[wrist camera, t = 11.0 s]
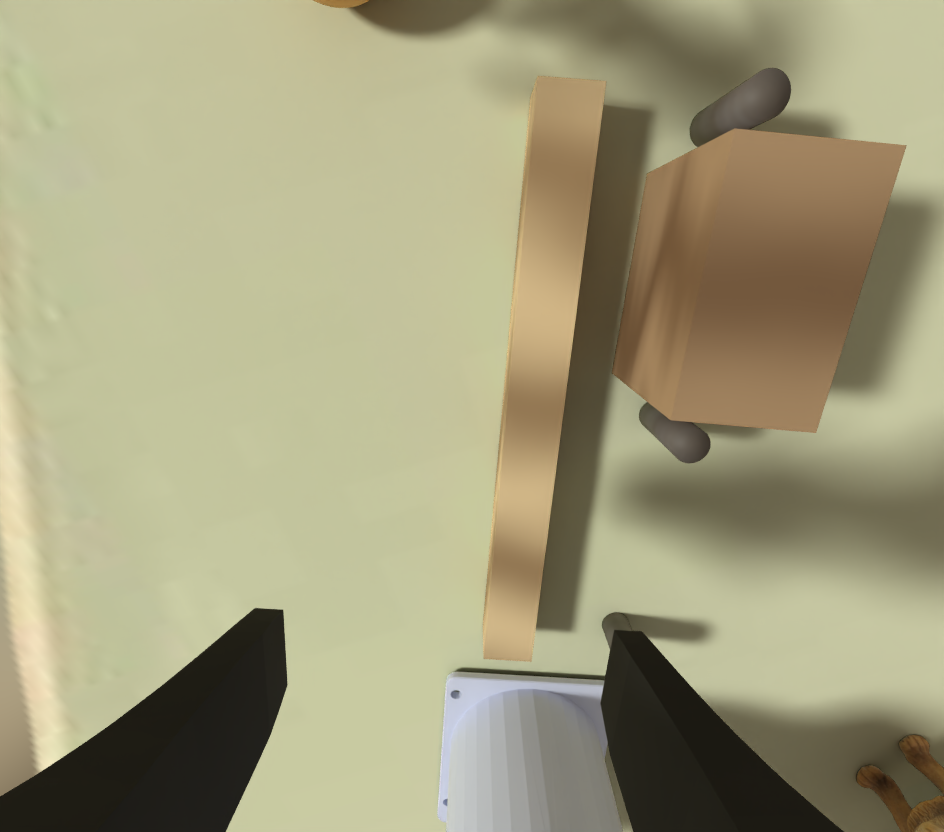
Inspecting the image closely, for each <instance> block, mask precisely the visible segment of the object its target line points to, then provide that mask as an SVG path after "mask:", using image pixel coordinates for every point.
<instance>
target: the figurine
mask: <svg viewBox="0 0 944 832" xmlns="http://www.w3.org/2000/svg"><path fill="white" fill-rule="evenodd" d="M314 1H316V2H318V3H320V4H323V5H326V6H330V7H336V8H349V7H355V6H358V5H361V4H364V3H366V2H368V1H369V0H314Z"/></svg>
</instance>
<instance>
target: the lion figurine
mask: <svg viewBox="0 0 944 832" xmlns="http://www.w3.org/2000/svg"><path fill="white" fill-rule="evenodd" d="M899 746H900V749H901V751H902V752H903V753H904V755H905V757H906V759H907V761H908V762H909V763H911V764H912V765H913V766H914V767H915V768H917V769H918V770H919V771H920V772H922V773H923V774H924V775H925V776H926V777H927V778H928V779H929V780H930V781H931V782H932V783H933V784H934V785H935V786H936V787H937V788H938V789H939V790H940V791H941V792H942V794H943V795H944V768H943V767H942V766H941V765H939V764H938V763H937V762H936V761H935V760H934V758H933V757H932V756H931V755H930V753H929V747H930V746H929V743H928V742H927V741H926V740H925V739H924V738H923V737H922V736H918V735H908V736H906V737H905V738H903V739H902V740H900V742H899ZM856 781H857V782H858V784H859V785H861V786H862V787H865V788H870V789H872V790H874V791H875V792H876V793H877V794H878V796H879V797H880V798H881V799H882V800H883V802H884V803H885V804H886V806H887V807H888V809H889V810H890V812H891V813H892V815H893V817H894V819H895V821H896V823H897V825H898V827H899V829H900V830H901V832H944V796H937V797H935V798H934V799H932V800H927V801H924V802H920V803H919V804H918V805H917V806H916V807H914V808H913V809H911V807H910V806H909V805H908V803H907V802H906V800H905V798H904V796H903V794H902V793H901V791H900V789H899V787H898V786H897V784H896V783H895V781H894V780H893V779H892V778H891V777H890V776H888V775H886V774H884V773H883V772H882V771H881V770H880V769H878V768H877V767H875V766H871V765H868V766H865V767H861V769H860V770H859V771H858V774H857V777H856Z"/></svg>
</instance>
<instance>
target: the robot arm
mask: <svg viewBox="0 0 944 832" xmlns="http://www.w3.org/2000/svg"><path fill="white" fill-rule="evenodd" d="M286 688H287V669H286V651H285V634H284V616H283V610H277V609H260V608H255V609H253V610H252V611H251V612H250V613H249V614H247V615H246V616H245V617H244V618H243V619H241V620H240V621H239V622H238V623H237V624H235V625H234V626H233V627H232V628H231V629H229V630H228V631H227V632H226V633H225V634H224V635H222V636H221V637H220V638H219V639H218V640H217V641H215V642H214V643H213V644H212V645H211V646H209V647H208V648H207V649H206V650H205V651H204V652H202V653H201V654H200V655H199V656H198V657H196V658H195V659H194V660H193V661H192V662H190V663H189V664H188V665H187V666H185V667H184V668H183V669H182V670H181V671H179V672H178V673H177V674H176V675H174V676H173V677H172V678H171V679H170V680H168V681H167V682H166V683H165V684H163V685H162V686H161V687H160V688H158V689H157V690H156V691H154V692H153V693H152V694H150V695H149V696H148V697H146V698H145V699H144V700H143V701H141V702H140V703H139V704H137V705H136V706H135V707H133V708H132V709H131V710H129V711H128V712H127V713H125V714H124V715H123V716H122V717H120V718H119V719H118V720H116V721H115V722H114V723H112V724H111V725H109V726H108V727H107V728H105V729H104V730H102V731H101V732H100V733H98V734H97V735H95V736H94V737H92V738H91V739H89V740H88V741H87V742H85V743H84V744H82V745H81V746H79V747H78V748H76V749H75V750H73V751H72V752H70V753H69V754H67V755H66V756H64V757H63V758H61V759H60V760H58V761H57V762H55V763H54V764H52V765H51V766H49V767H48V768H46V769H45V770H43V771H41V772H40V773H38V774H37V775H35V776H34V777H32V778H30V779H29V780H27V781H25V782H24V783H22V784H20V785H19V786H17V787H15V788H14V789H12V790H10V791H9V792H7V793H5V794H4V795H2V796H0V832H226V830H227V828H228V825H229V823H230V821H231V819H232V817H233V815H234V813H235V810H236V808H237V806H238V804H239V802H240V800H241V798H242V796H243V793H244V791H245V789H246V787H247V785H248V783H249V781H250V778H251V776H252V774H253V772H254V770H255V768H256V765H257V763H258V761H259V759H260V757H261V755H262V752H263V750H264V748H265V746H266V744H267V741H268V739H269V737H270V735H271V732H272V729H273V726H274V723H275V720H276V718H277V715H278V712H279V709H280V706H281V703H282V700H283V697H284V694H285V691H286ZM454 690H458V691H459V692H454ZM607 745H608V746H609V751H610V756H611V759H612V763H613V766H614V769H615V773H616V776H617V779H618V783H619V786H620V789H621V793H622V796H623V799H624V802H625V806H626V809H627V812H628V815H629V819H630V822H631V825H632V828H633V832H844V831H842V830H841V829H840V828H839V827H838V826H836V825H835V824H834V823H833V822H831V821H830V820H829V819H828V818H827V817H826V816H824V815H823V814H822V813H821V812H820V811H819V810H817V809H816V808H815V807H814V806H813V805H812V804H811V803H809V802H808V801H807V800H806V799H805V798H804V797H803V796H801V795H800V794H799V793H798V792H797V791H796V790H795V789H793V788H792V787H791V786H790V785H789V784H788V783H787V782H786V781H784V780H783V779H782V778H781V777H780V776H779V775H778V774H777V773H776V772H775V771H774V770H773V769H771V768H770V767H769V766H768V765H767V764H766V763H765V762H764V761H763V760H762V759H761V758H760V757H759V756H758V755H757V754H756V753H755V752H754V751H753V750H752V749H751V748H750V747H749V746H748V745H747V744H746V743H745V742H744V741H743V740H742V739H740V738H739V737H738V736H737V735H736V734H735V733H734V732H733V730H732V729H731V728H730V727H729V726H728V725H727V724H726V723H725V722H724V721H723V720H722V719H721V718H720V717H719V716H718V715H717V714H716V713H715V712H714V711H713V710H712V709H711V708H710V707H709V706H708V704H707V703H706V702H705V701H704V700H703V699H702V698H701V697H700V696H699V695H698V694H697V693H696V692H695V690H694V689H693V688H692V687H691V686H690V685H689V684H688V683H687V682H686V681H685V679H684V678H683V677H682V676H681V675H680V674H679V673H678V672H677V670H676V669H675V668H674V667H673V666H672V665H671V664H670V663H669V661H668V660H667V659H666V658H665V657H664V656H663V655H662V654H661V652H660V651H659V650H658V649H657V648H656V647H655V646H654V644H653V643H652V642H651V641H650V640H649V639H648V638H647V637H646V636H645V634H644V633H643V632H641V631H625V630H614V633H613V638H612V644H611V649H610V654H609V660H608V665H607V670H606V676H605V680H591V679H574V678H557V677H540V676H523V675H506V674H489V673H472V672H453V673H450V674H449V675H448V676H447V679H446V693H445V708H444V723H443V738H442V753H441V769H440V784H439V799H438V814H437V815H438V818H439V819H440V820H441V821H443V822H446V832H623V829H622V825H621V821H620V817H619V813H618V810H617V806H616V802H615V798H614V794H613V790H612V787H611V783H610V779H609V775H608V771H607V767H606V764H605V755H606V750H607Z"/></svg>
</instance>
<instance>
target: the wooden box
mask: <svg viewBox="0 0 944 832" xmlns="http://www.w3.org/2000/svg"><path fill="white" fill-rule="evenodd" d="M906 146H907V145H897V144H886V143H876V142H866V141H856V140H846V139H836V138H826V137H816V136H806V135H796V134H786V133H776V132H766V131H756V130H746V129H736V128H734V129H732V130H731V131H729V132H727V133H725V134H723V135H721V136H719V137H717V138H715V139H713V140H711V141H709V142H707V143H705V144H704V145H702V146H700V147H698V148H696V149H694V150H692V151H690V152H688V153H686V154H684V155H682V156H680V157H678V158H676V159H675V160H673V161H671V162H669V163H667V164H665V165H663V166H661V167H659V168H657V169H655V170H653V171H651V172H649V173H647V177H646V182H645V188H644V194H643V199H642V205H641V210H640V216H639V222H638V227H637V233H636V239H635V244H634V250H633V256H632V261H631V267H630V273H629V278H628V284H627V290H626V295H625V301H624V307H623V312H622V318H621V324H620V329H619V335H618V340H617V346H616V352H615V357H614V363H613V369H612V374H614V375H615V376H616V377H617V378H618V379H620V380H621V381H622V382H623V383H625V384H626V385H627V386H628V387H630V388H631V389H632V390H633V391H635V392H636V393H637V394H638V395H640V396H641V397H642V398H643V399H645V400H646V401H647V402H648V403H650V404H651V405H652V406H653V407H655V408H656V409H657V410H658V411H660V412H661V413H662V414H663V415H665V416H666V417H667V418H668V419H670V420H673V421H685V422H696V423H708V424H720V425H731V426H743V427H754V428H766V429H777V430H789V431H801V432H812V433H816V431H817V428H818V425H819V422H820V418H821V415H822V412H823V409H824V406H825V402H826V399H827V396H828V393H829V390H830V387H831V383H832V380H833V377H834V374H835V371H836V368H837V364H838V361H839V358H840V355H841V352H842V349H843V345H844V342H845V339H846V336H847V333H848V330H849V326H850V323H851V320H852V317H853V314H854V310H855V307H856V304H857V301H858V298H859V295H860V291H861V288H862V285H863V282H864V279H865V276H866V272H867V269H868V266H869V263H870V260H871V257H872V253H873V250H874V247H875V244H876V241H877V238H878V234H879V231H880V228H881V225H882V222H883V219H884V215H885V212H886V209H887V206H888V203H889V199H890V196H891V193H892V190H893V187H894V184H895V180H896V177H897V174H898V171H899V168H900V165H901V161H902V158H903V155H904V152H905V149H906Z"/></svg>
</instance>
